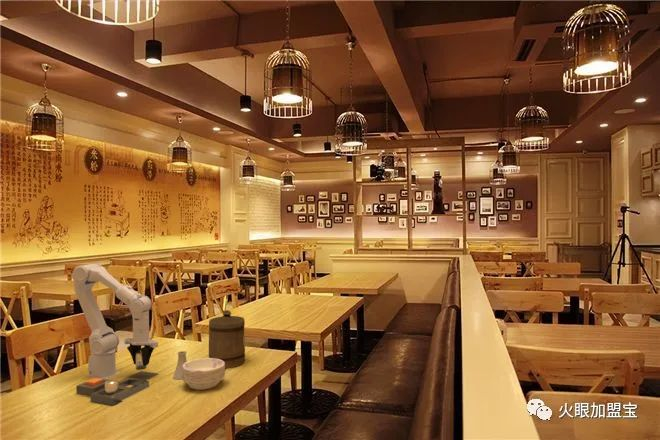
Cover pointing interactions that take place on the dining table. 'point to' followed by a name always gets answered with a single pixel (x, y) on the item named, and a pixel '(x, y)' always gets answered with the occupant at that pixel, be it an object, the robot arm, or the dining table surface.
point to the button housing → (89, 388)
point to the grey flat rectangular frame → (120, 391)
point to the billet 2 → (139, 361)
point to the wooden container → (227, 339)
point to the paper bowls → (203, 372)
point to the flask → (180, 365)
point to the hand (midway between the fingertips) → (141, 364)
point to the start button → (94, 382)
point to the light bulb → (111, 387)
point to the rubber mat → (142, 375)
